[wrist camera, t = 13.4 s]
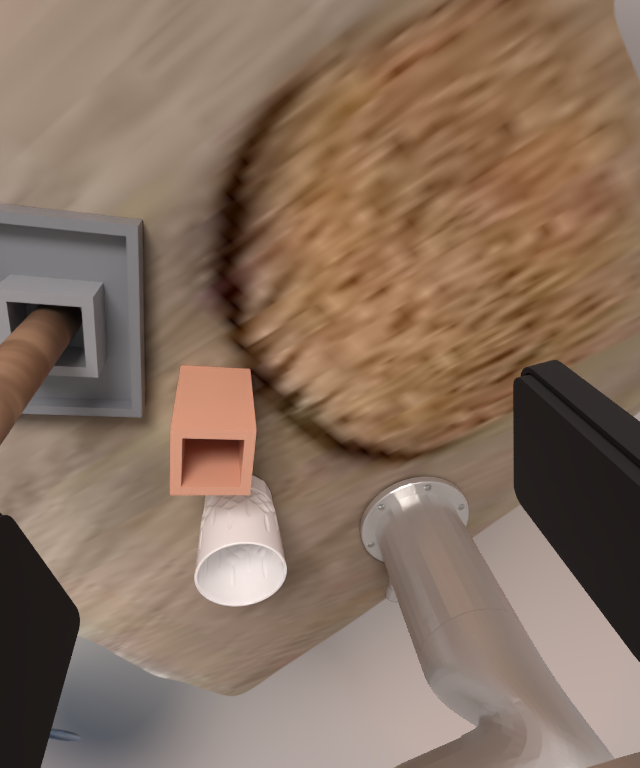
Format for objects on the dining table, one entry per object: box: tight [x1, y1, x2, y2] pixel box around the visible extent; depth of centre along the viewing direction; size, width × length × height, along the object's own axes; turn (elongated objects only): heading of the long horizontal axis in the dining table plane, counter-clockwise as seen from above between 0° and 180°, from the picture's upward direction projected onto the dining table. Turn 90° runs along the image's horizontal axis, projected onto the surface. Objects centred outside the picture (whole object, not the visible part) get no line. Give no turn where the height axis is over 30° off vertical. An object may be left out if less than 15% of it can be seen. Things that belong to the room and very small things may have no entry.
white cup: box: [194, 475, 287, 606], centre depth 47 cm, size 8×8×10 cm
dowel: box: [0, 304, 82, 445], centre depth 32 cm, size 3×3×17 cm
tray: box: [0, 204, 146, 418], centre depth 38 cm, size 16×12×4 cm
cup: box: [170, 365, 256, 495], centre depth 41 cm, size 6×6×10 cm
